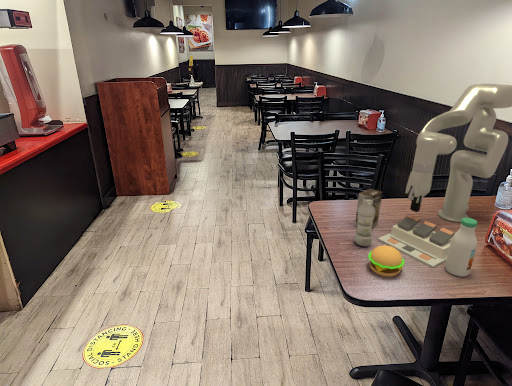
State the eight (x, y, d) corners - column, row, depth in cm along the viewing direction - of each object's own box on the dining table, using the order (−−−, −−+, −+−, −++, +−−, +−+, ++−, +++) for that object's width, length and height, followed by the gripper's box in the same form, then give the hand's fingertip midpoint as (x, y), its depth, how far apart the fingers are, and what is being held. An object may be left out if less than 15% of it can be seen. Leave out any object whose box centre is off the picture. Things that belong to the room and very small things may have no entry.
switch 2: (441, 230, 135) (441, 227, 134) (454, 235, 131) (454, 232, 130) (429, 240, 131) (429, 237, 131) (441, 245, 128) (442, 243, 127)
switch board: (403, 229, 151) (405, 218, 149) (458, 253, 132) (461, 241, 130) (377, 239, 142) (379, 228, 140) (432, 268, 123) (435, 255, 121)
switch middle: (425, 223, 140) (425, 220, 139) (436, 228, 136) (437, 225, 135) (412, 232, 137) (412, 230, 136) (424, 237, 133) (424, 235, 132)
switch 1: (409, 216, 145) (409, 214, 145) (420, 221, 142) (420, 218, 141) (397, 225, 142) (397, 223, 142) (408, 230, 138) (408, 228, 138)
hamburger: (361, 260, 128) (364, 240, 125) (393, 259, 129) (396, 239, 126) (374, 280, 117) (377, 258, 114) (408, 278, 118) (413, 257, 114)
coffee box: (366, 231, 149) (371, 197, 143) (354, 226, 153) (358, 192, 147) (378, 225, 154) (383, 191, 148) (365, 220, 159) (369, 187, 153)
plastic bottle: (372, 249, 135) (378, 202, 128) (354, 247, 136) (359, 201, 129) (370, 241, 141) (376, 196, 134) (353, 239, 142) (358, 194, 135)
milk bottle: (458, 279, 117) (472, 227, 110) (439, 267, 124) (451, 217, 116) (474, 274, 120) (488, 222, 112) (454, 262, 126) (467, 213, 119)
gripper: (425, 162, 141) (417, 203, 148) (403, 168, 133) (395, 211, 140) (443, 167, 135) (433, 210, 142) (420, 173, 128) (411, 218, 134)
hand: (414, 210), depth 141 cm, fingers closed
